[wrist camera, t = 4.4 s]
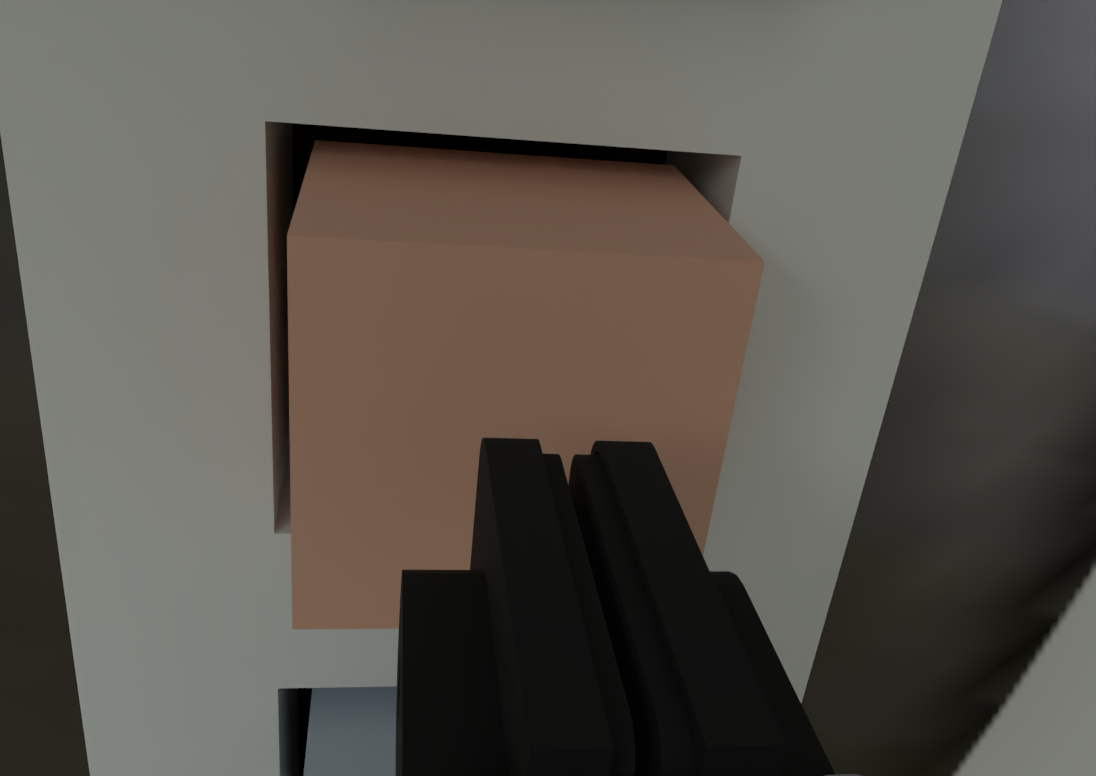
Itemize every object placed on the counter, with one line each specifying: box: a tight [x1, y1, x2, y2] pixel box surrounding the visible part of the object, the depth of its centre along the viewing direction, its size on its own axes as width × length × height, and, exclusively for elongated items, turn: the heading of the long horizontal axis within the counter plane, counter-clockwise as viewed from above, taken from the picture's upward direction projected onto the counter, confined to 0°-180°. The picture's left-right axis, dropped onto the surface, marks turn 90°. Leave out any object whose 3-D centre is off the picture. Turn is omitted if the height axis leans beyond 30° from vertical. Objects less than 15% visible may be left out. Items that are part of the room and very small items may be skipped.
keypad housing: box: [0, 0, 1003, 776], centre depth 15 cm, size 30×12×4 cm, turn 174°
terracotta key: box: [287, 140, 765, 629], centre depth 13 cm, size 5×5×4 cm
